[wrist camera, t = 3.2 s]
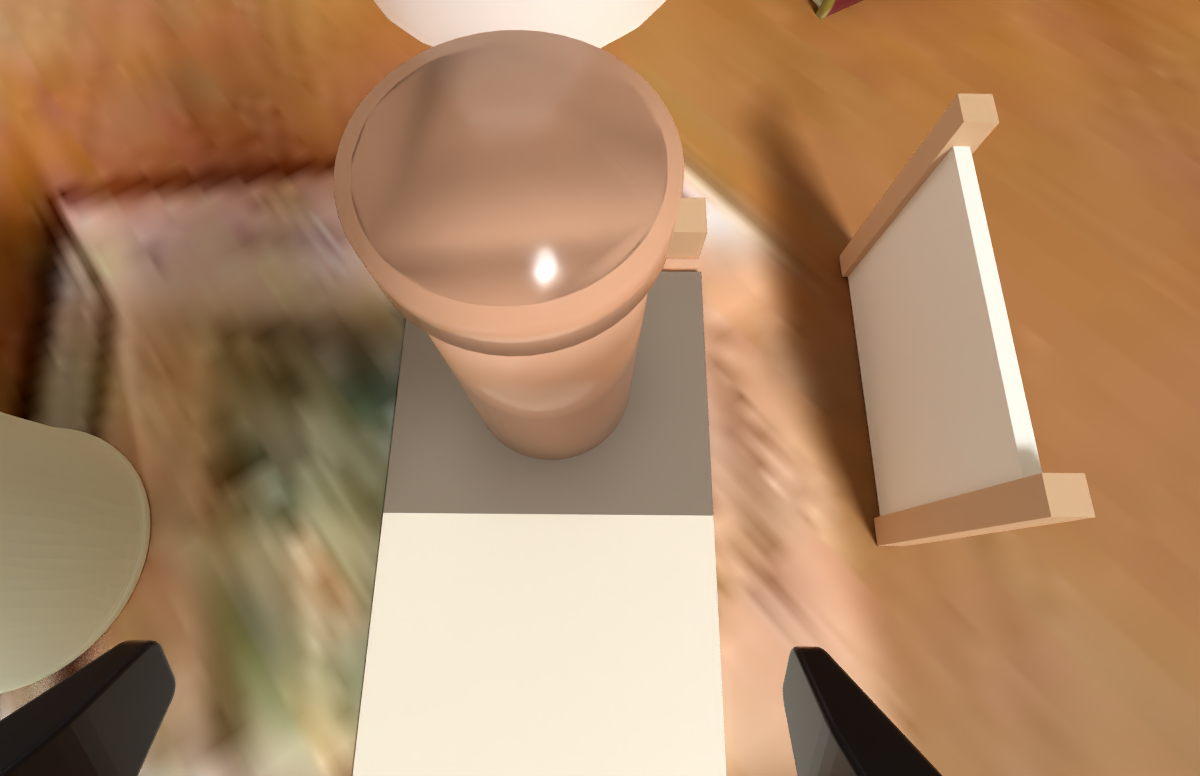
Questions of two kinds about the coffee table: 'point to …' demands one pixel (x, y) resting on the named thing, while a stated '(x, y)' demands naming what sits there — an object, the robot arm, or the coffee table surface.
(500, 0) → the cylinder
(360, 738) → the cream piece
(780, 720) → the coffee table surface
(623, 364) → the tan tall round cup
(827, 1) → the hardcover book
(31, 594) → the can
